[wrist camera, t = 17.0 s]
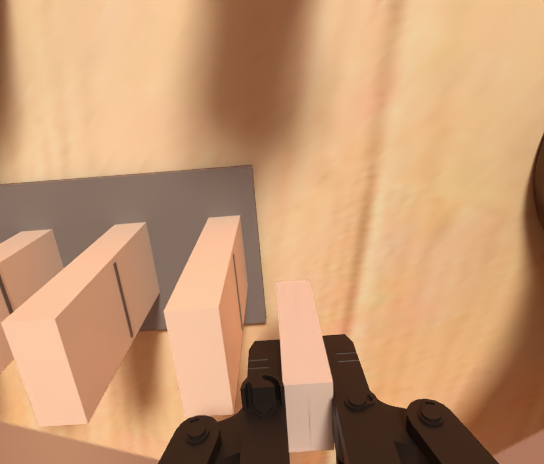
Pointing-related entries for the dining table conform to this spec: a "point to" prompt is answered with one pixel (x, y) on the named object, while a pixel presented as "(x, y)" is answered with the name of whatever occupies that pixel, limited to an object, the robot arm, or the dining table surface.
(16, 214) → the slate mat
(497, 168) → the dining table surface
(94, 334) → the domino
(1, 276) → the loose domino
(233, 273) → the domino
